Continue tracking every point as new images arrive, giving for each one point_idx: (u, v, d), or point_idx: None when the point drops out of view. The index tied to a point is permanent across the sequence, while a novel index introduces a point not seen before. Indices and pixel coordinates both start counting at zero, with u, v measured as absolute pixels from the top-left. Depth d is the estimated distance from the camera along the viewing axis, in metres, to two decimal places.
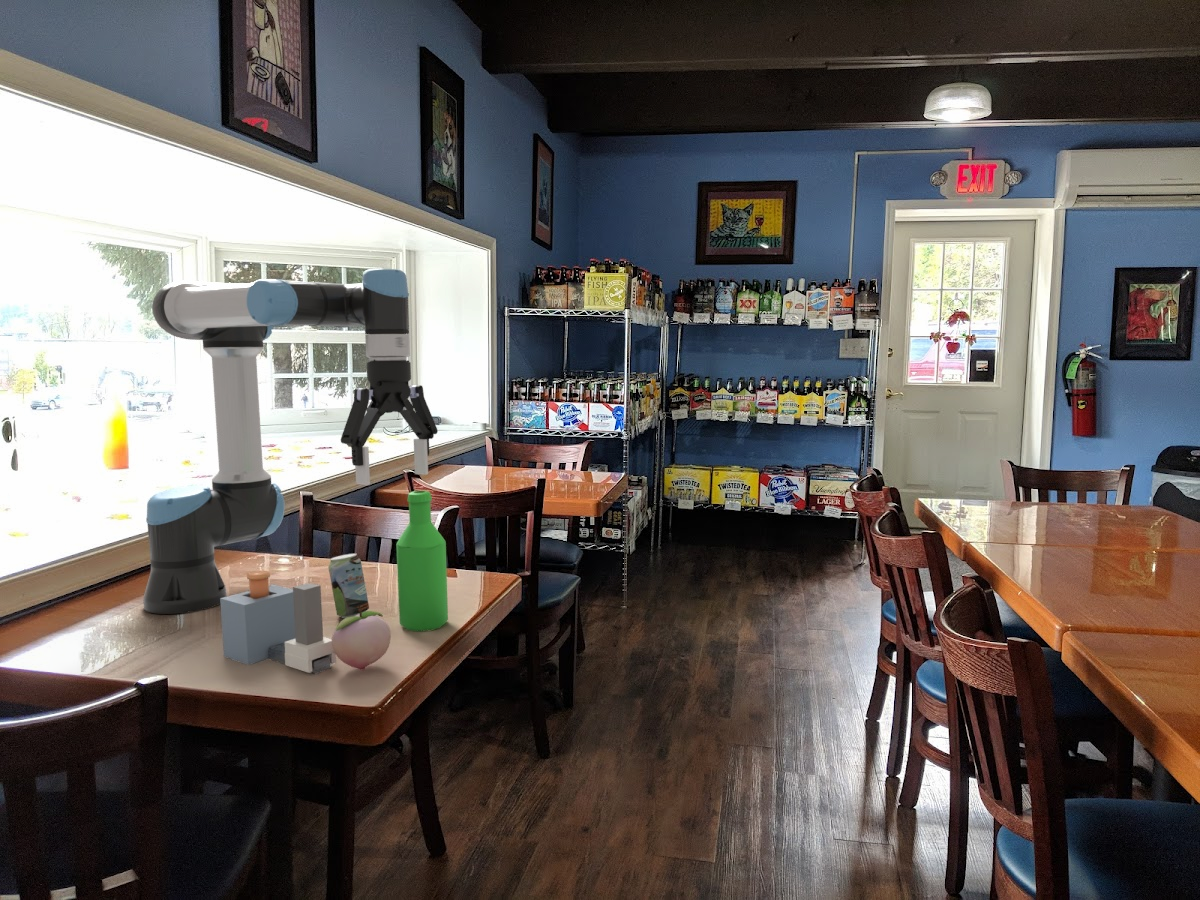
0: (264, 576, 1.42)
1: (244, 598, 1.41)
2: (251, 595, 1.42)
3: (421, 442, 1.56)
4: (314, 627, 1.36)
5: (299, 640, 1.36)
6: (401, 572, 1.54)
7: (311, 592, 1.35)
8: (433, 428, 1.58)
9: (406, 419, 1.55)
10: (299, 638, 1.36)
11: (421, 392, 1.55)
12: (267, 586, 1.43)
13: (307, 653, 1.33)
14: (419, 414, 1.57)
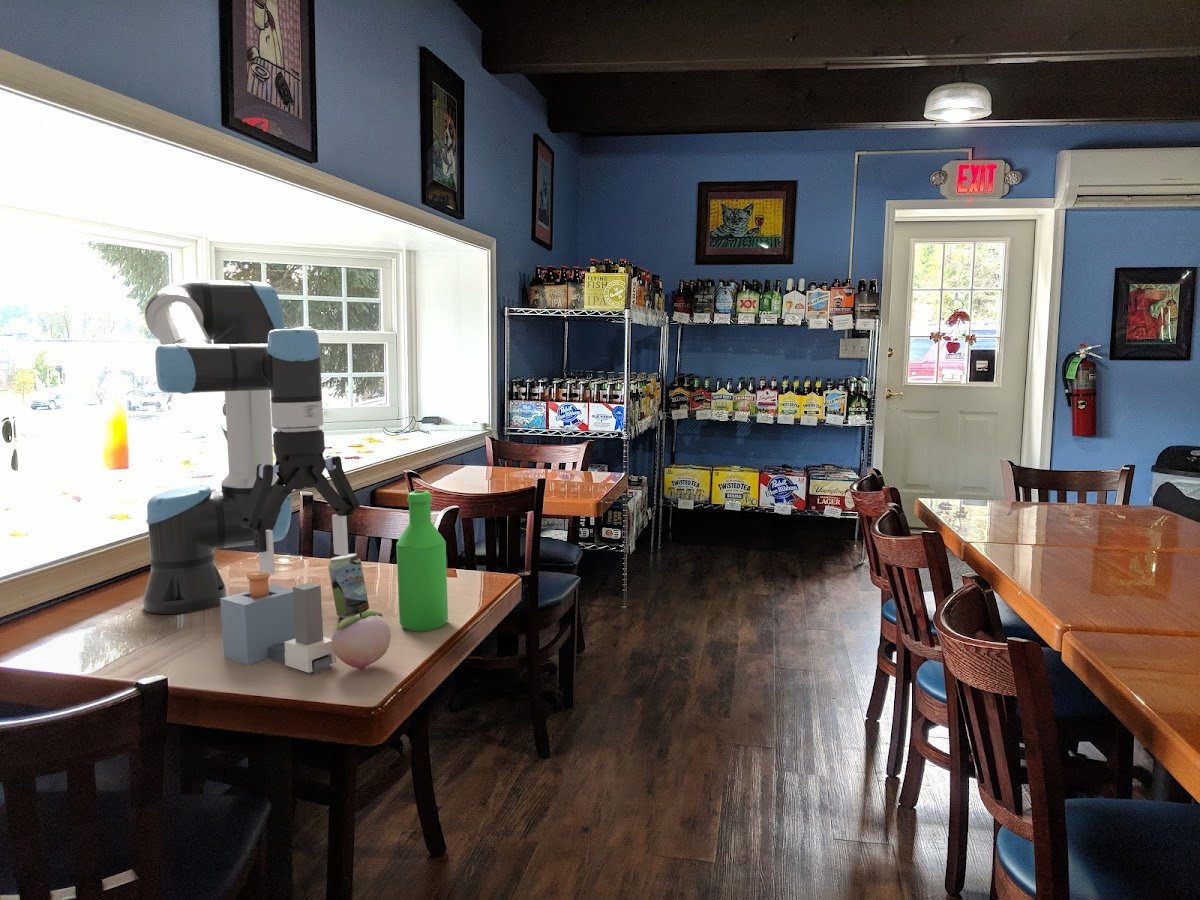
0: (264, 576, 1.42)
1: (244, 598, 1.41)
2: (251, 595, 1.42)
3: (340, 519, 1.39)
4: (314, 627, 1.36)
5: (299, 640, 1.36)
6: (401, 572, 1.54)
7: (311, 592, 1.35)
8: (354, 503, 1.41)
9: (322, 494, 1.38)
10: (299, 638, 1.36)
11: (339, 464, 1.38)
12: (267, 586, 1.43)
13: (307, 653, 1.33)
14: (338, 487, 1.40)
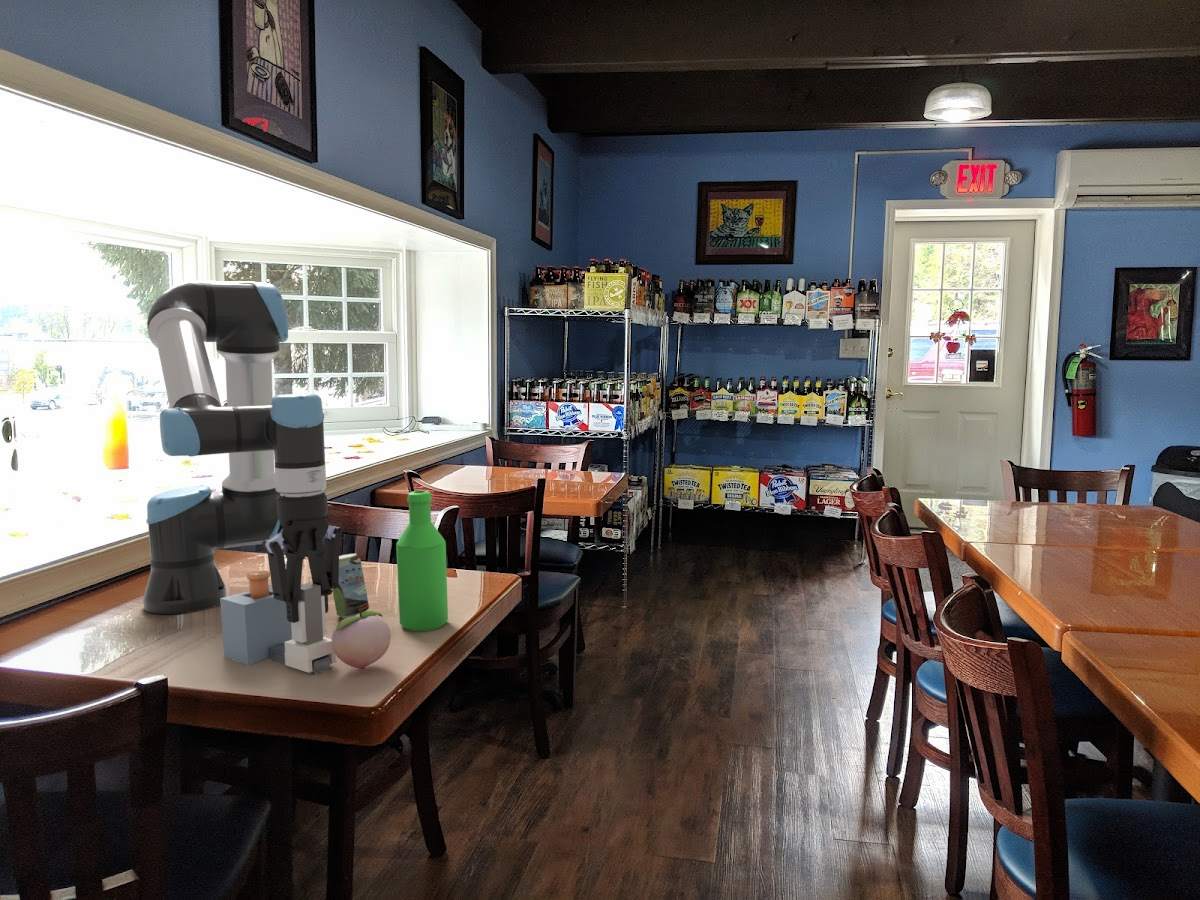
0: (264, 576, 1.42)
1: (244, 598, 1.41)
2: (251, 595, 1.42)
3: None
4: (314, 627, 1.36)
5: None
6: (401, 572, 1.54)
7: (311, 592, 1.35)
8: (334, 580, 1.39)
9: (310, 563, 1.37)
10: None
11: (339, 536, 1.39)
12: (267, 586, 1.43)
13: (307, 653, 1.33)
14: (326, 559, 1.39)
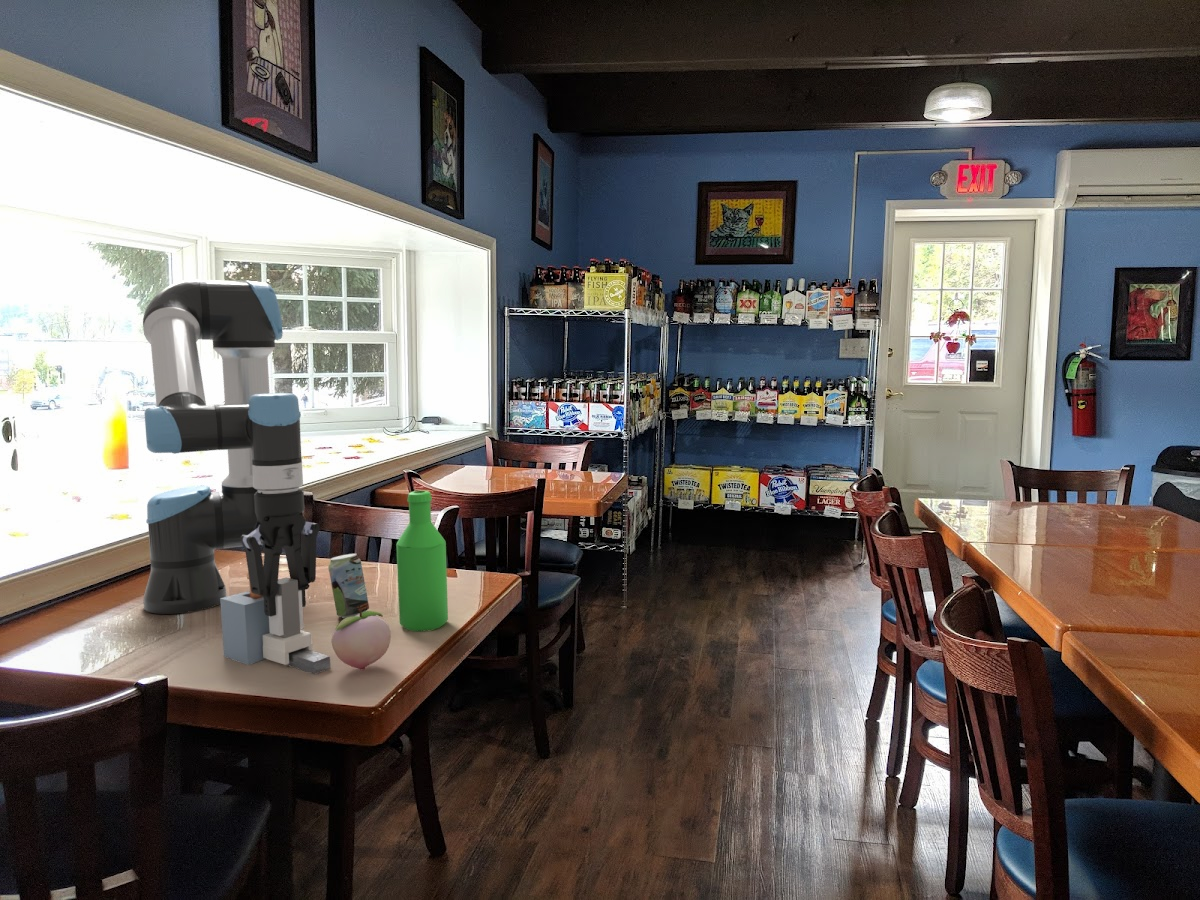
0: None
1: (244, 598, 1.41)
2: (251, 595, 1.42)
3: None
4: (291, 621, 1.39)
5: None
6: (401, 572, 1.54)
7: (288, 586, 1.38)
8: (311, 575, 1.42)
9: (288, 559, 1.40)
10: None
11: (316, 531, 1.42)
12: None
13: (284, 646, 1.37)
14: (303, 555, 1.43)
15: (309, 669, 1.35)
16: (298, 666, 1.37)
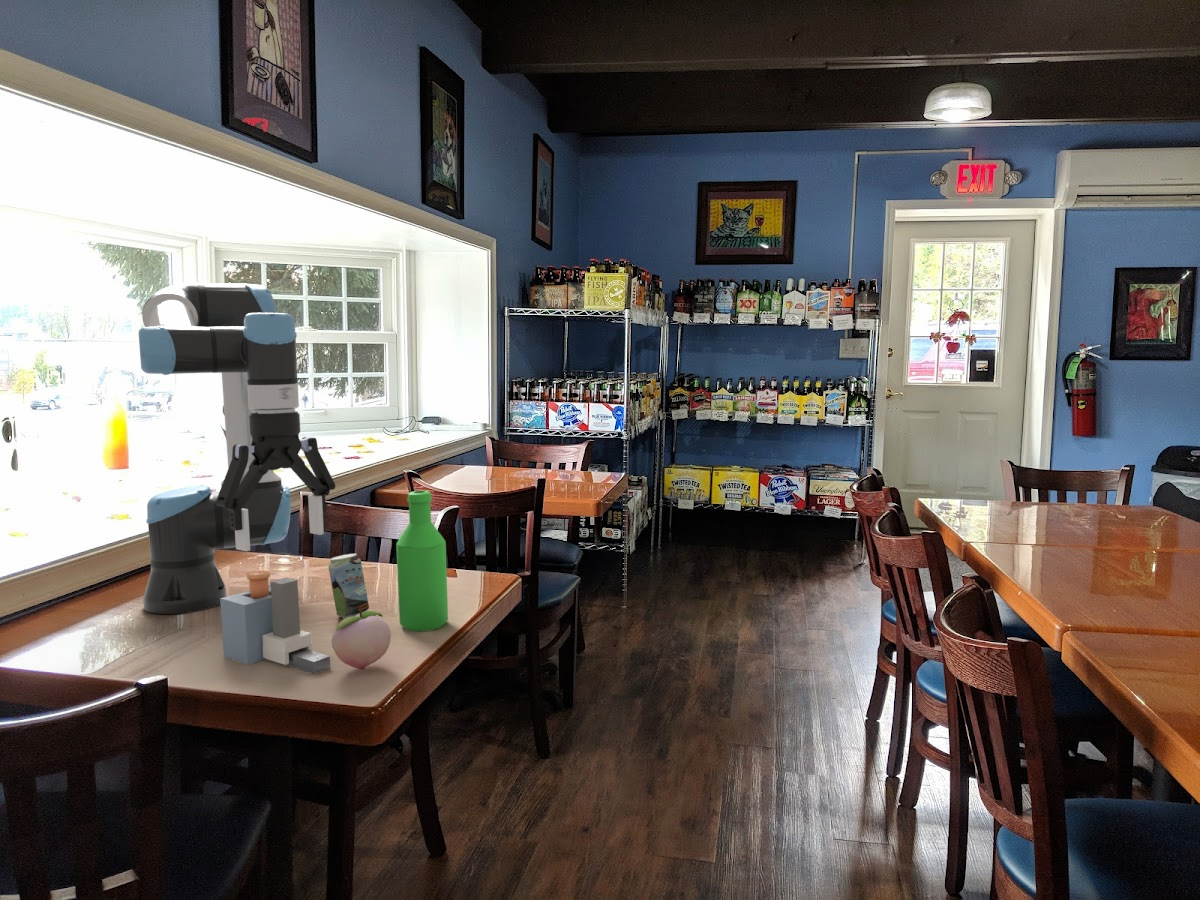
0: (264, 576, 1.42)
1: (244, 598, 1.41)
2: (251, 595, 1.42)
3: (315, 499, 1.43)
4: (291, 621, 1.39)
5: (276, 633, 1.39)
6: (401, 572, 1.54)
7: (288, 586, 1.38)
8: (330, 483, 1.44)
9: (298, 474, 1.41)
10: (276, 631, 1.39)
11: (315, 445, 1.41)
12: (267, 586, 1.43)
13: (284, 646, 1.37)
14: (314, 468, 1.43)
15: (309, 669, 1.35)
16: (298, 666, 1.37)
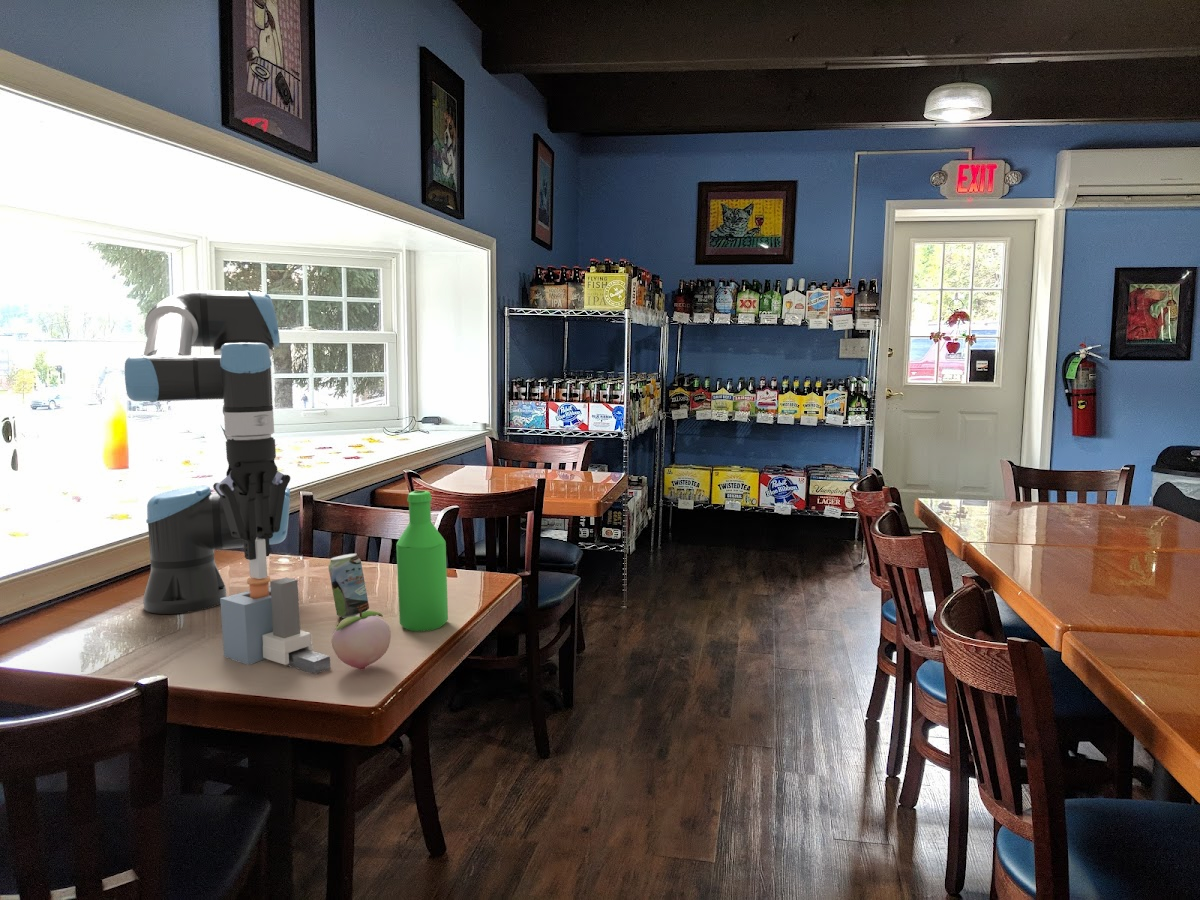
0: (264, 581, 1.42)
1: (244, 598, 1.41)
2: None
3: None
4: (291, 621, 1.39)
5: (276, 633, 1.39)
6: (401, 572, 1.54)
7: (288, 586, 1.38)
8: (276, 524, 1.44)
9: (255, 506, 1.43)
10: (276, 631, 1.39)
11: (286, 483, 1.45)
12: (267, 591, 1.43)
13: (284, 646, 1.37)
14: (271, 504, 1.45)
15: (309, 669, 1.35)
16: (298, 666, 1.37)
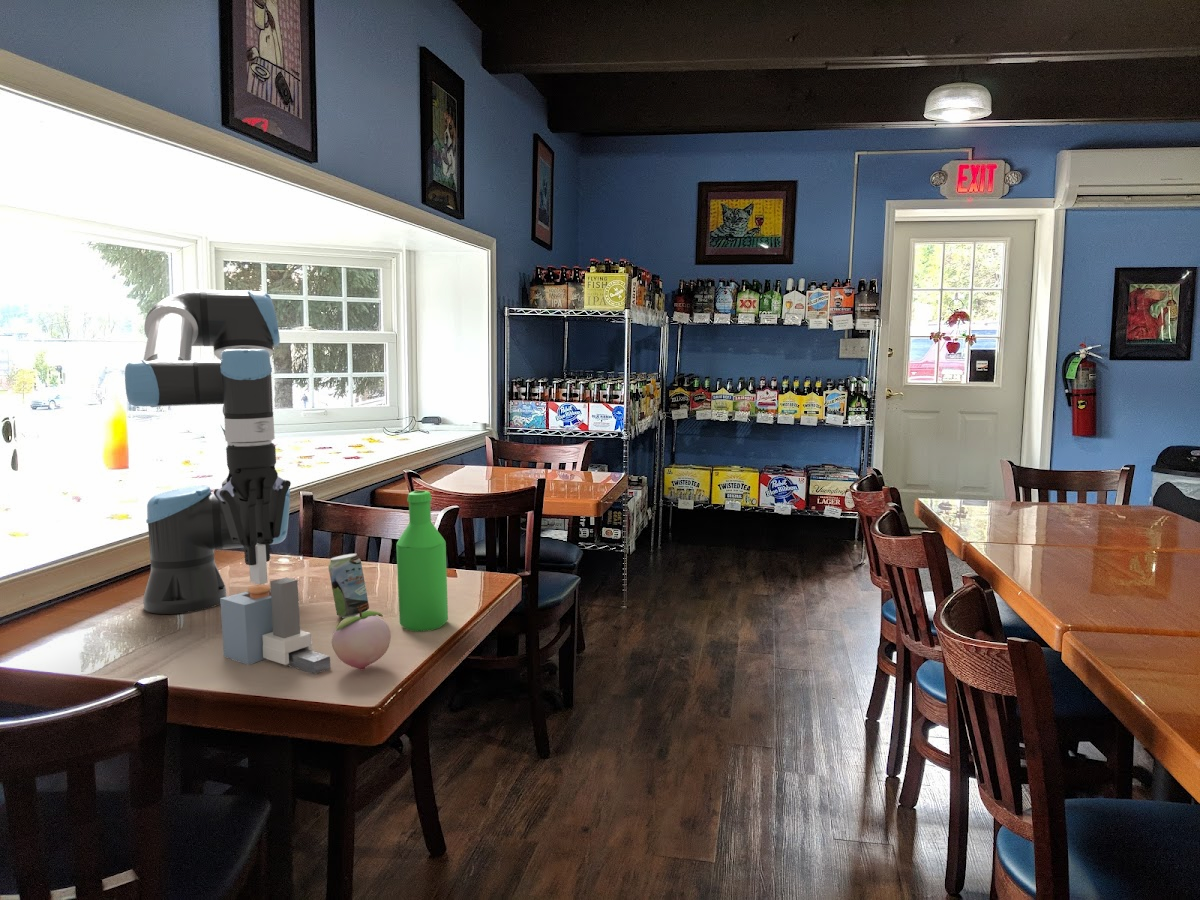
0: (265, 590, 1.42)
1: (244, 598, 1.41)
2: None
3: None
4: (291, 621, 1.39)
5: (276, 633, 1.39)
6: (401, 572, 1.54)
7: (288, 586, 1.38)
8: (276, 530, 1.44)
9: (256, 512, 1.43)
10: (276, 631, 1.39)
11: (286, 488, 1.45)
12: None
13: (284, 646, 1.37)
14: (271, 510, 1.45)
15: (309, 669, 1.35)
16: (298, 666, 1.37)
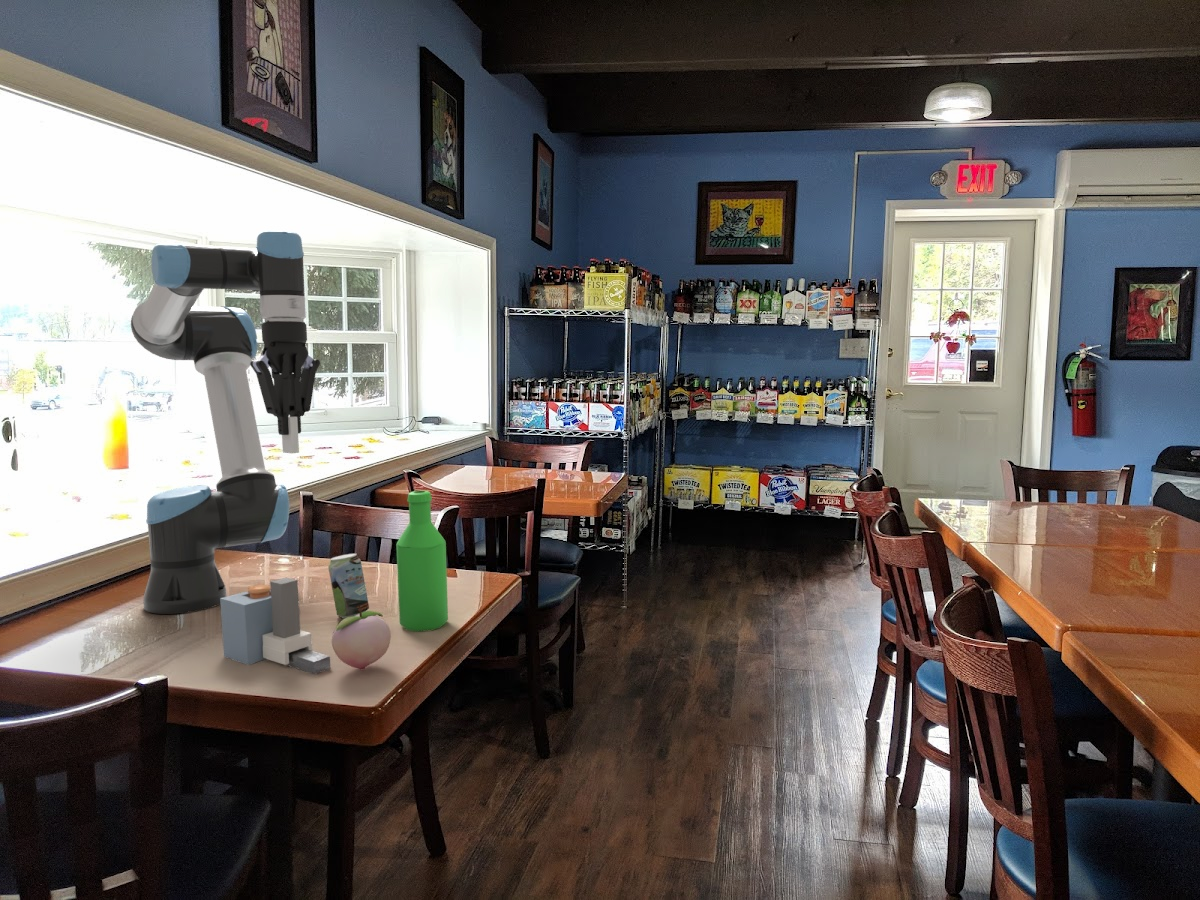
0: (265, 590, 1.42)
1: (244, 598, 1.41)
2: None
3: None
4: (291, 621, 1.39)
5: (276, 633, 1.39)
6: (401, 572, 1.54)
7: (288, 586, 1.38)
8: (307, 404, 1.55)
9: (288, 387, 1.54)
10: (276, 631, 1.39)
11: (316, 366, 1.56)
12: None
13: (284, 646, 1.37)
14: (302, 386, 1.56)
15: (309, 669, 1.35)
16: (298, 666, 1.37)
